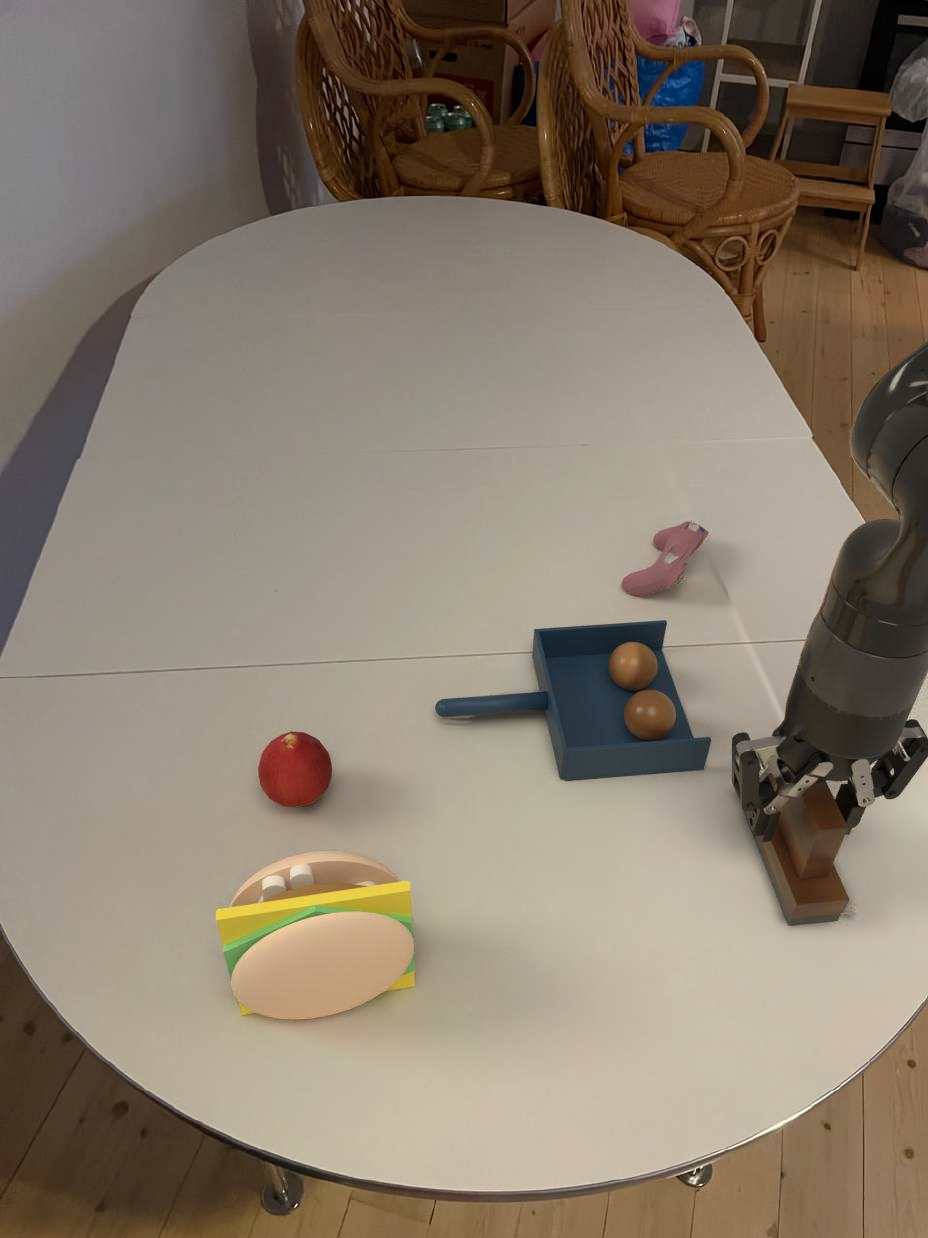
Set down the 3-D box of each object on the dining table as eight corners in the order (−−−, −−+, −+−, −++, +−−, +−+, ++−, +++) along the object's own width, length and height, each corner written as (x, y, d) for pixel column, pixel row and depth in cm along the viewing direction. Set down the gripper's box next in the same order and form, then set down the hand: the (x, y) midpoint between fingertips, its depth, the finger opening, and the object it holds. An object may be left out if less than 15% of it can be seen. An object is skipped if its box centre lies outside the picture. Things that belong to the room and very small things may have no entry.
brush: (788, 804, 86) (814, 731, 80) (839, 922, 78) (872, 850, 72) (741, 808, 85) (764, 735, 79) (787, 927, 77) (816, 856, 71)
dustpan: (660, 649, 99) (666, 619, 97) (704, 770, 88) (711, 740, 86) (428, 665, 97) (427, 635, 95) (443, 791, 86) (443, 761, 84)
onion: (273, 768, 88) (262, 703, 83) (341, 774, 88) (334, 709, 82) (256, 824, 84) (243, 759, 78) (327, 831, 83) (319, 766, 78)
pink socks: (650, 617, 105) (689, 580, 99) (614, 588, 105) (652, 549, 100) (685, 563, 111) (724, 526, 106) (652, 536, 111) (689, 497, 106)
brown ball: (599, 666, 97) (644, 666, 97) (609, 700, 93) (656, 701, 94) (609, 631, 94) (656, 632, 94) (620, 665, 90) (668, 666, 91)
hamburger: (402, 912, 78) (397, 813, 70) (419, 1016, 72) (415, 921, 64) (239, 937, 76) (215, 839, 68) (242, 1046, 70) (216, 953, 62)
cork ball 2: (620, 682, 90) (617, 716, 92) (632, 719, 86) (628, 754, 89) (670, 676, 90) (666, 711, 93) (684, 714, 87) (679, 748, 89)
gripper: (771, 722, 64) (722, 880, 75) (992, 705, 65) (911, 862, 77) (734, 639, 70) (694, 797, 81) (939, 624, 71) (871, 782, 82)
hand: (800, 828), depth 79 cm, fingers open, 5 cm apart
